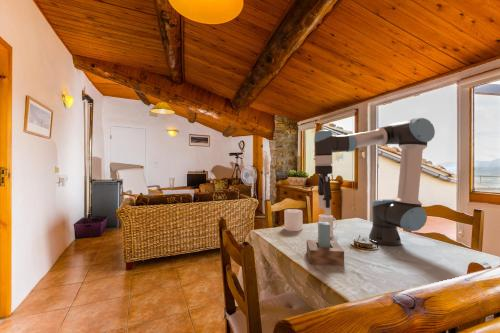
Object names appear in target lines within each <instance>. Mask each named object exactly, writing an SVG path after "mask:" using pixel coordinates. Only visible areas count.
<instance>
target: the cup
mask: <svg viewBox="0 0 500 333" xmlns="http://www.w3.org/2000/svg"><path fill="white" fill-rule="evenodd" d="M283 213H284V216H283V217H284V219H283V220H284V230H286V231H288V232H301V231H302V230H303V227H304V226H303V222H304V221H303V210H302V209H297V208H287V209H284V212H283ZM300 230H301V231H300Z"/></svg>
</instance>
